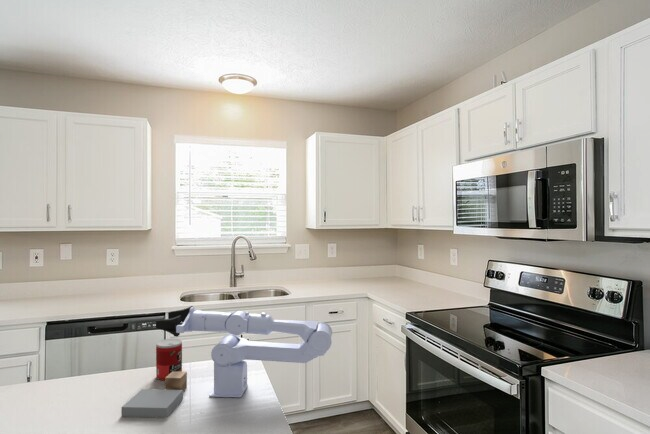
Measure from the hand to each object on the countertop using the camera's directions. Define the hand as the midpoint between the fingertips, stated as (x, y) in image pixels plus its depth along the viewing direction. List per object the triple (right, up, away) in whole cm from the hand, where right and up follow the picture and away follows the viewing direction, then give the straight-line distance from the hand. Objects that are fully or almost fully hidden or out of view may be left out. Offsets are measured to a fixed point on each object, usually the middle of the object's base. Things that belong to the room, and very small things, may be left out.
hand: (162, 319), depth 111 cm
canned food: (-2, -21, +10) cm, 24 cm away
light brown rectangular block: (+4, -21, -1) cm, 22 cm away
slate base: (+2, -21, -10) cm, 23 cm away
